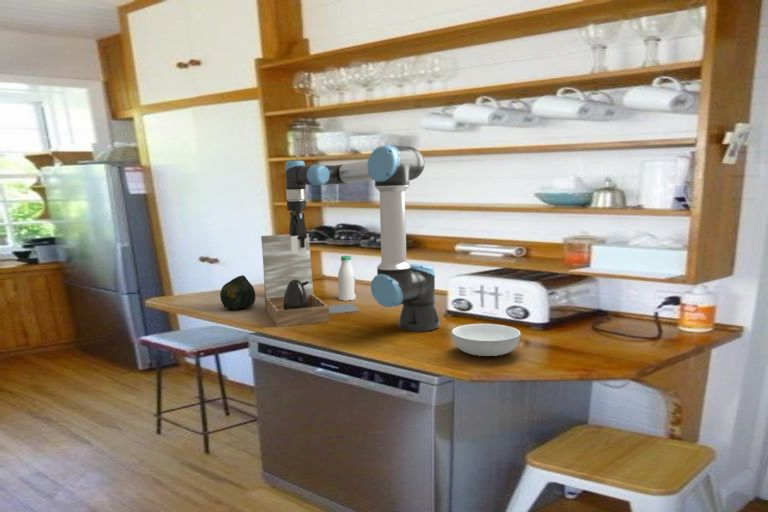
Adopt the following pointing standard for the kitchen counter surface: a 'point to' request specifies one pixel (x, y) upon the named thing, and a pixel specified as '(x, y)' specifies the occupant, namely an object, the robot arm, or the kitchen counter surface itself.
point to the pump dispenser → (295, 295)
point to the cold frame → (280, 272)
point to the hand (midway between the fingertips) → (298, 253)
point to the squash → (237, 293)
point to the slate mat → (342, 308)
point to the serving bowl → (486, 339)
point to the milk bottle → (346, 280)
